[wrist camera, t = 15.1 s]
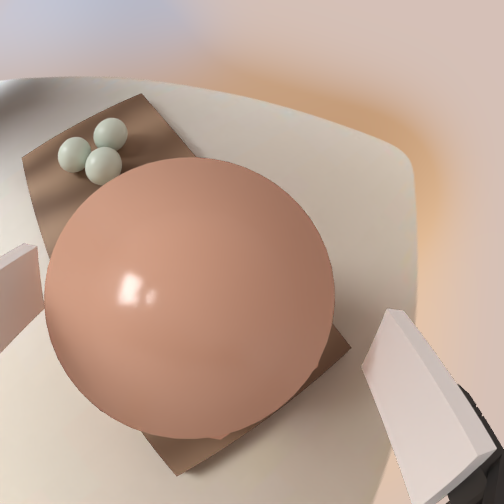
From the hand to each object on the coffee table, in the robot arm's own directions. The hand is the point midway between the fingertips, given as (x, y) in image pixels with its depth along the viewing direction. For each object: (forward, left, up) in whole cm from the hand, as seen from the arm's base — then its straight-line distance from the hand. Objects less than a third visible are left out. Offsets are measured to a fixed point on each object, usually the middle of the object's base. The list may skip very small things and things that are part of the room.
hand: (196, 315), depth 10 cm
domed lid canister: (-1, 0, -8) cm, 8 cm away
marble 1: (-18, -1, -7) cm, 20 cm away
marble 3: (-15, 0, -7) cm, 17 cm away
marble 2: (-18, +2, -7) cm, 20 cm away
